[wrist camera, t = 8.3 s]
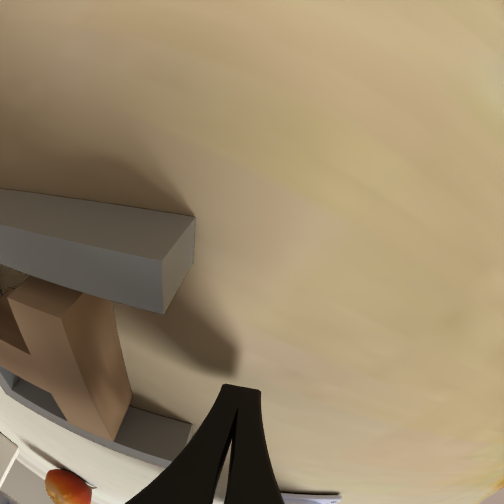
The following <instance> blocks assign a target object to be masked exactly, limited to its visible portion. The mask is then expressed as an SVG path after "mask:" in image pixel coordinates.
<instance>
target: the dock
mask: <svg viewBox="0 0 504 504" xmlns="http://www.w3.org/2000/svg"><path fill="white" fill-rule="evenodd" d="M195 219H196V217H191V216H185V215H179V214H173V213H167V212H161V211H154V210H148V209H142V208H135V207H129V206H122V205H116V204H109V203H102V202H95V201H88V200H81V199H74V198H67V197H60V196H52V195H45V194H37V193H30V192H22V191H14V190H6V189H0V264H2V265H4V266H7V267H10V268H12V269H15V270H18V271H20V272H23V273H26V274H29V275H32V276H34V277H37V278H40V279H43V280H46V281H49V282H52V283H55V284H58V285H61V286H64V287H67V288H70V289H74V290H77V291H80V292H83V293H86V294H90V295H93V296H96V297H100V298H103V299H107V300H110V301H114V302H117V303H121V304H125V305H128V306H132V307H136V308H139V309H143V310H147V311H151V312H155V313H159V314H163V315H164V313H165V312H166V310H167V308H168V306H169V304H170V303H171V301H172V299H173V297H174V295H175V294H176V292H177V290H178V288H179V287H180V285H181V283H182V281H183V280H184V278H185V276H186V274H187V273H188V271H189V269H190V267H191V266H192V264H193V255H194V236H195ZM1 296H2V294H1V291H0V297H1ZM0 386H1V387H2V389H3V390H4V392H5V393H6V394H7V395H8V396H10V397H11V398H13V399H14V400H16V401H18V402H19V403H21V404H22V405H24V406H26V407H27V408H29V409H31V410H32V411H34V412H36V413H37V414H39V415H41V416H43V417H45V418H46V419H48V420H50V421H52V422H54V423H56V424H57V425H59V426H61V427H63V428H65V429H67V430H69V431H71V432H73V433H75V434H78V435H80V436H82V437H84V438H86V439H88V440H91V441H93V442H95V443H97V444H100V445H102V446H104V447H107V448H109V449H112V450H114V451H117V452H119V453H122V454H125V455H127V456H130V457H133V458H136V459H139V460H142V461H145V462H148V463H151V464H154V465H157V466H160V467H164V468H167V467H168V466H169V465H170V464H171V463H172V461H173V460H174V459H175V458H176V457H177V456H178V455H179V454H180V452H181V451H182V450H183V449H184V448H185V446H186V445H187V444H188V442H189V441H190V440H191V439H192V436H193V435H192V424H188V423H184V422H181V421H177V420H173V419H170V418H166V417H163V416H159V415H156V414H153V413H149V412H146V411H143V410H140V409H137V408H134V407H131V406H129V407H128V409H127V411H126V413H125V416H124V418H123V420H122V423H121V425H120V427H119V430H118V432H117V434H116V437H115V439H114V441H113V442H112V441H109V440H107V439H104V438H101V437H99V436H96V435H94V434H92V433H89V432H87V431H84V430H82V429H80V428H78V427H75V426H73V425H71V424H69V422H68V421H67V419H66V417H65V416H64V414H63V413H62V411H61V409H60V408H59V406H58V404H57V403H56V401H55V399H54V398H53V396H52V394H51V393H49V392H47V391H45V390H43V389H41V388H39V387H37V386H35V385H33V384H32V383H30V382H28V381H26V380H24V379H22V378H20V377H19V376H17V375H15V374H13V373H12V372H10V371H8V370H7V369H5V368H3V367H2V366H0Z"/></svg>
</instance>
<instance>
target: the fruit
mask: <svg viewBox="0 0 504 504" xmlns="http://www.w3.org/2000/svg"><path fill="white" fill-rule="evenodd" d="M45 485H46V491H47V493H48V495H49V496H50V498H51V499H52V500H53V502H54V503H55V504H90V502H91V496H92V492H91V491H92V489H95V488H97V487H90V486H88V485H87V484H86V483H85V482H84V481H83V480H82V479H81V478H79V477H78V476H77V475H76V474H74V473H73V472H70V471H67V470H61V469H54V470H50V471H48V473H47V475H46V479H45Z"/></svg>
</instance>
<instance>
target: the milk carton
mask: <svg viewBox="0 0 504 504" xmlns="http://www.w3.org/2000/svg"><path fill="white" fill-rule="evenodd" d="M18 453H19V448H18V447H17V446H16V445H15V444H13V443H12V442H11V441H10V440H9V439H7V438H6V437H5V436H4V435H2V434H1V433H0V488H1V486H2V484H3V481H4V480H5V478H6V476H7V474H8V472H9V470H10V468H11V466H12V464H13V462H14V461H15V459H16V457H17V455H18Z"/></svg>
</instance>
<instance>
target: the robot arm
mask: <svg viewBox="0 0 504 504" xmlns="http://www.w3.org/2000/svg"><path fill="white" fill-rule="evenodd" d="M231 440H232V444H231V454H230V464H229V474H228V484H227V491H226V496H225V501H224V504H337V503H338V502H340V501H341V500H342V496H340V495H303V494H288V493H280V490H279V488H278V485H277V482H276V479H275V476H274V473H273V469H272V466H271V462H270V458H269V454H268V450H267V445H266V440H265V435H264V429H263V422H262V413H261V391H259V390H257V389H251V388H246V387H240V386H235V385H230V384H223V385H222V387H221V390H220V392H219V395H218V397H217V399H216V401H215V403H214V405H213V407H212V408H211V410H210V412H209V414H208V415H207V417H206V418H205V420H204V421H203V423H202V424H201V426H200V427H199V429H198V430H197V432H196V433H195V435H194V436H193V437H192V439H191V440H190V441H189V442H188V444H187V445H186V446H185V448H184V449H183V450H182V451H181V452H180V454H179V455H178V456H177V457H176V458H175V459H174V460H173V461H172V463H171V464H170V465H169V466H168V467H167V468H166V469H165V470H164V471H163V472H162V473H161V474H160V475H159V476H158V477H157V478H156V479H155V480H153V481H152V482H151V483H150V484H149V485H148V486H147V487H145V488H144V489H143V490H142V491H140V492H139V493H138V494H137V495H135V496H134V497H133V498H132V499H130V500H129V501H128V502H126V503H125V504H212V503H213V499H214V494H215V490H216V487H217V483H218V480H219V477H220V474H221V471H222V468H223V465H224V462H225V459H226V456H227V453H228V449H229V446H230V443H231ZM0 504H19V503H18V502H17V501H15V500H14V499H12V498H11V497H10V496H8V495H7V494H5V493H4V492H2V491H1V490H0Z"/></svg>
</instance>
